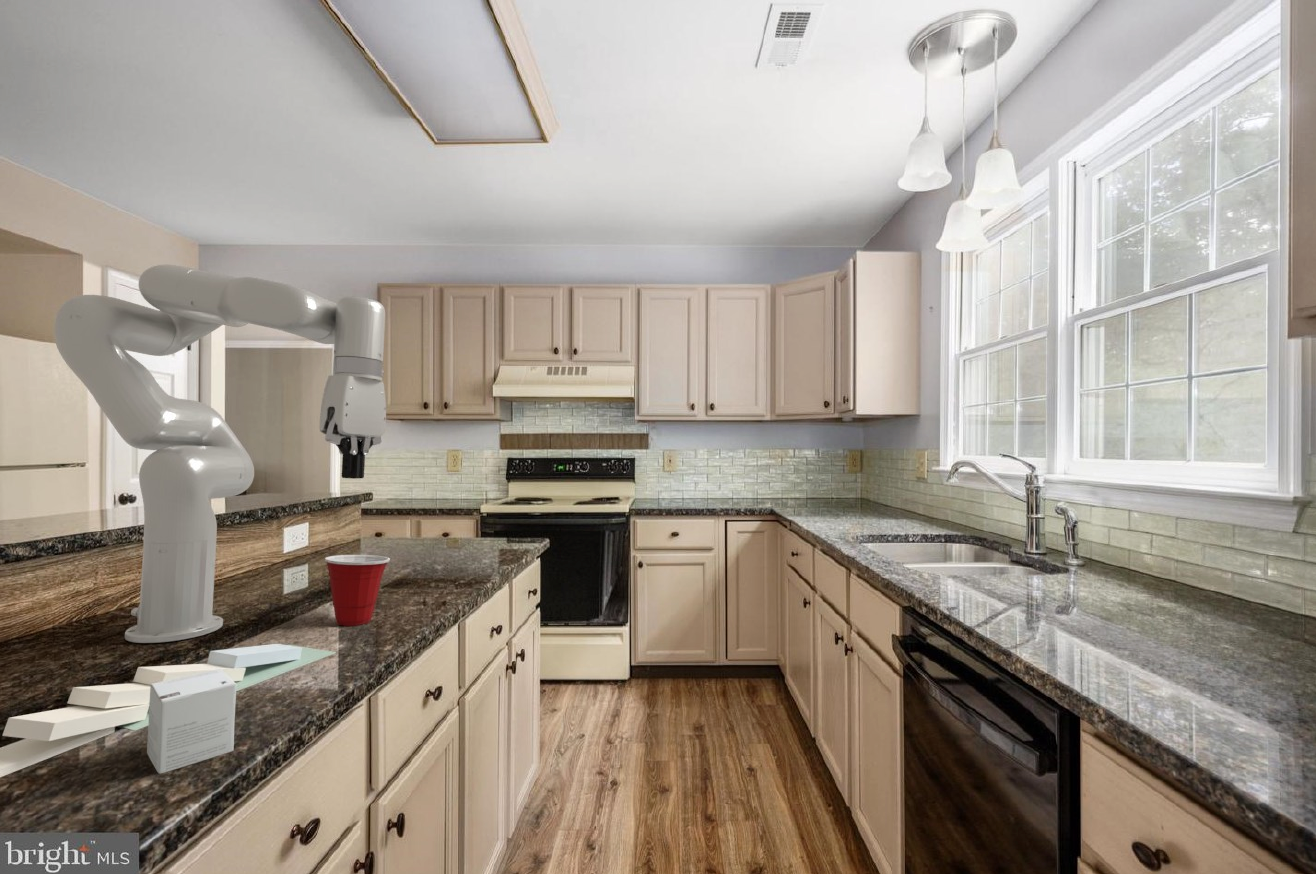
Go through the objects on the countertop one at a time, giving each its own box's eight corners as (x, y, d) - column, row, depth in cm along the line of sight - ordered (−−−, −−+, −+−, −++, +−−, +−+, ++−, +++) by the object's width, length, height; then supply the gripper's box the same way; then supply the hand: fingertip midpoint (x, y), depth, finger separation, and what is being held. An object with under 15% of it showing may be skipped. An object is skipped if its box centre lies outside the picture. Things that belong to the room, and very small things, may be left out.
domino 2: (80, 733, 62) (-51, 783, 53) (81, 718, 62) (-50, 765, 53) (113, 739, 61) (-15, 791, 51) (114, 724, 61) (-14, 774, 51)
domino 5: (274, 654, 85) (206, 663, 76) (277, 643, 85) (210, 651, 76) (299, 659, 84) (234, 668, 74) (302, 647, 84) (237, 655, 75)
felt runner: (75, 718, 64) (75, 715, 64) (287, 646, 90) (287, 644, 90) (134, 733, 62) (134, 730, 62) (336, 654, 87) (336, 652, 87)
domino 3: (156, 695, 70) (67, 703, 61) (161, 681, 71) (73, 687, 61) (190, 699, 69) (104, 708, 60) (195, 685, 70) (110, 692, 61)
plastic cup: (399, 619, 106) (402, 555, 106) (341, 634, 96) (345, 564, 97) (367, 610, 111) (370, 549, 112) (309, 622, 102) (312, 556, 103)
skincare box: (218, 734, 62) (222, 666, 62) (234, 754, 58) (238, 681, 58) (144, 755, 57) (149, 682, 58) (156, 778, 53) (161, 700, 54)
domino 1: (105, 715, 64) (2, 735, 55) (109, 700, 65) (8, 717, 55) (145, 719, 64) (48, 741, 54) (149, 704, 64) (54, 723, 55)
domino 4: (216, 675, 77) (133, 681, 68) (220, 662, 77) (138, 667, 68) (242, 680, 75) (160, 687, 66) (246, 667, 76) (165, 672, 67)
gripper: (374, 377, 104) (369, 476, 104) (302, 364, 90) (295, 478, 89) (407, 377, 102) (402, 477, 102) (338, 363, 88) (332, 480, 87)
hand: (352, 477), depth 95 cm, fingers closed
